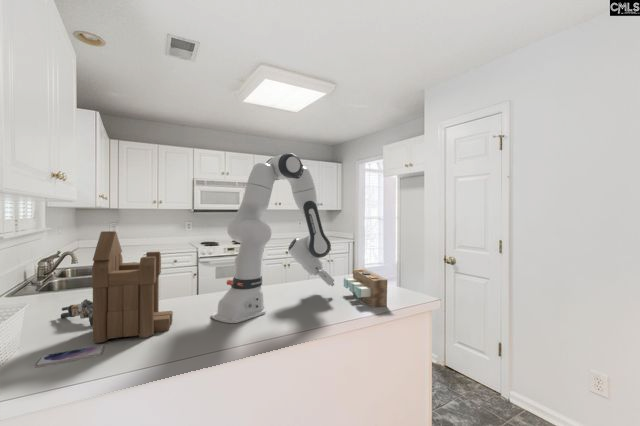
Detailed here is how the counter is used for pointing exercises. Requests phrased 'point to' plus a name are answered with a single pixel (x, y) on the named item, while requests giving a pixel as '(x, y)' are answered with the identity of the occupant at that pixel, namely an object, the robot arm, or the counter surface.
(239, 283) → the robot arm
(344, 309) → the counter surface
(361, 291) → the plunger near
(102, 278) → the castle structure
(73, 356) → the smartphone
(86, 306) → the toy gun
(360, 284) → the plunger middle
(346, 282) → the plunger far
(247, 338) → the counter surface
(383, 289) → the console
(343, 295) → the counter surface
